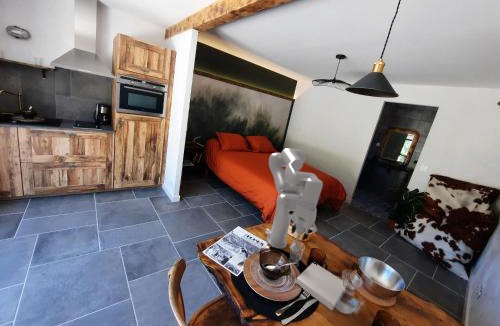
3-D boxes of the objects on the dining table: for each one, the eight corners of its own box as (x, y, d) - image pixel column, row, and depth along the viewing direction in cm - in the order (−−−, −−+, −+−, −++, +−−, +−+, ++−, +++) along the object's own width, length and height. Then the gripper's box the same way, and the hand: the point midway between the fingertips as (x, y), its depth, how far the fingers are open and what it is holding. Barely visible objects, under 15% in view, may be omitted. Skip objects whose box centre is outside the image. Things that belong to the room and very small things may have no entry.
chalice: (301, 255, 106) (311, 223, 101) (287, 250, 107) (297, 218, 102) (301, 246, 113) (310, 215, 108) (288, 242, 114) (297, 211, 109)
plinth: (295, 283, 102) (296, 278, 102) (311, 266, 116) (313, 261, 115) (332, 310, 92) (334, 305, 91) (345, 288, 105) (347, 283, 104)
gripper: (288, 197, 105) (280, 229, 110) (322, 214, 95) (310, 248, 100) (296, 194, 111) (288, 225, 116) (328, 209, 100) (317, 242, 105)
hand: (298, 235), depth 108 cm, fingers closed on chalice, 5 cm apart
